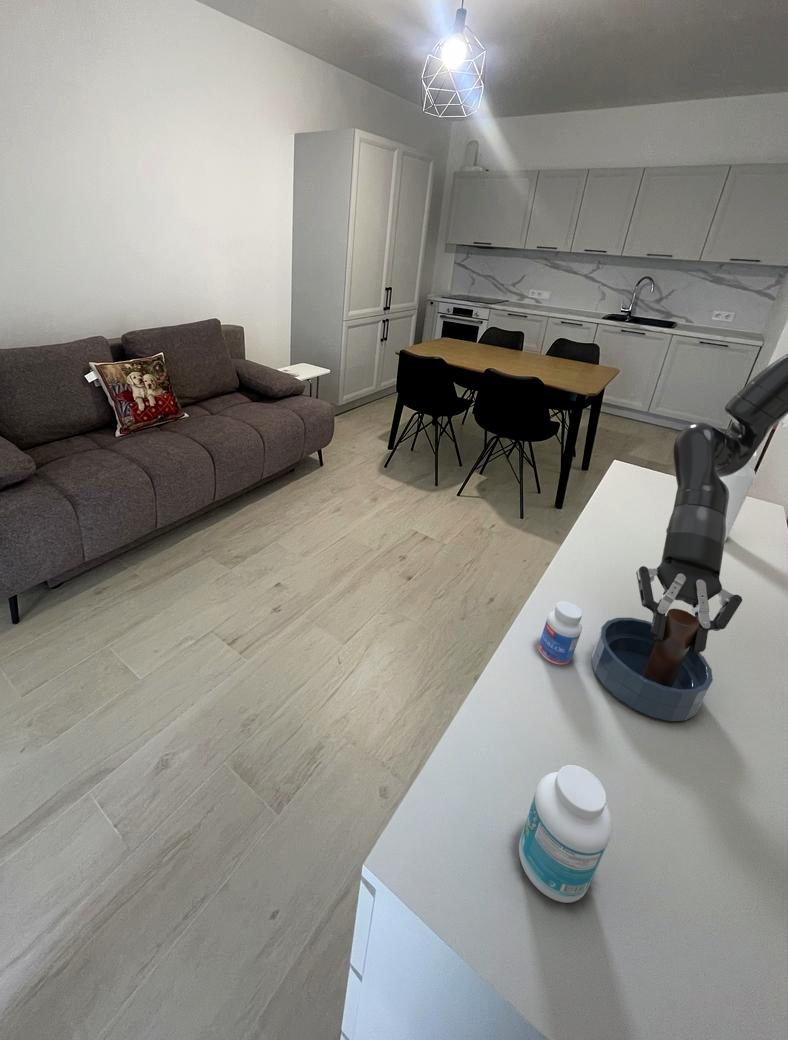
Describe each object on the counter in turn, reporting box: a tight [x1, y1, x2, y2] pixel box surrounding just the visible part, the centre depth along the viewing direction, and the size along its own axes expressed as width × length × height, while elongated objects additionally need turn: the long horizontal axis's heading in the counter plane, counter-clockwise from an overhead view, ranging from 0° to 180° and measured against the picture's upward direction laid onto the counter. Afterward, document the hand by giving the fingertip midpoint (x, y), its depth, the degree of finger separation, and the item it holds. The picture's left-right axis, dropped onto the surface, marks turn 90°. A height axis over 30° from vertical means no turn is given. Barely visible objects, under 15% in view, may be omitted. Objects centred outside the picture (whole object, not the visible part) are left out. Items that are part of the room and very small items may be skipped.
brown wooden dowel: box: [642, 608, 699, 688], centre depth 76 cm, size 4×4×13 cm
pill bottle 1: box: [538, 600, 583, 666], centre depth 84 cm, size 6×5×10 cm
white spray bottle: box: [719, 451, 757, 542], centre depth 123 cm, size 7×12×25 cm, turn 141°
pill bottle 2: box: [518, 764, 613, 904], centre depth 53 cm, size 8×7×14 cm
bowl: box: [591, 617, 714, 722], centre depth 80 cm, size 15×15×6 cm
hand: (676, 646), depth 74 cm, fingers closed on brown wooden dowel, 4 cm apart
